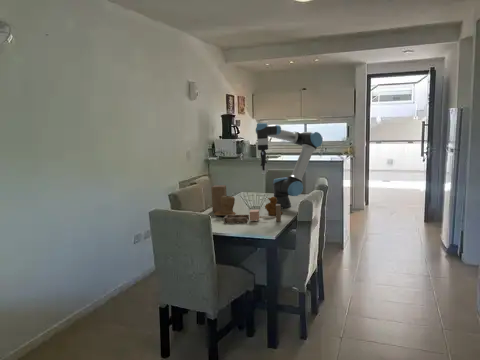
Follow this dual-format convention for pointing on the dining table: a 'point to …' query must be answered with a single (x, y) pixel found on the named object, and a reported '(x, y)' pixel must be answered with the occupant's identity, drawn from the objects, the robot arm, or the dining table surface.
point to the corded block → (255, 216)
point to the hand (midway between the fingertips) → (264, 173)
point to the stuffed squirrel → (271, 206)
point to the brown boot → (226, 206)
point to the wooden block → (217, 196)
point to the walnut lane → (236, 218)
